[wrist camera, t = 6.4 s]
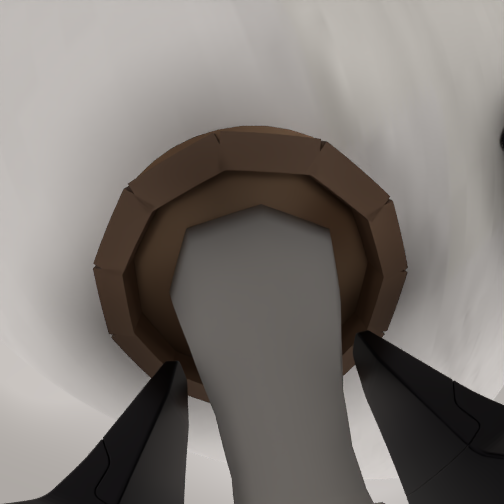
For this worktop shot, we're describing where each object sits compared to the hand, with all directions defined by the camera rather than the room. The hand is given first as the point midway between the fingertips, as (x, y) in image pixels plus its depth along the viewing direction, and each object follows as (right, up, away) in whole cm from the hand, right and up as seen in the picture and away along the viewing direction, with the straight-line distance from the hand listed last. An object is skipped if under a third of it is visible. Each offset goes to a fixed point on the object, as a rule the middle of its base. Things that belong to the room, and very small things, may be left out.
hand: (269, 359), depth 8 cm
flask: (0, +2, +4) cm, 4 cm away
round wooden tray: (0, +2, +4) cm, 5 cm away
